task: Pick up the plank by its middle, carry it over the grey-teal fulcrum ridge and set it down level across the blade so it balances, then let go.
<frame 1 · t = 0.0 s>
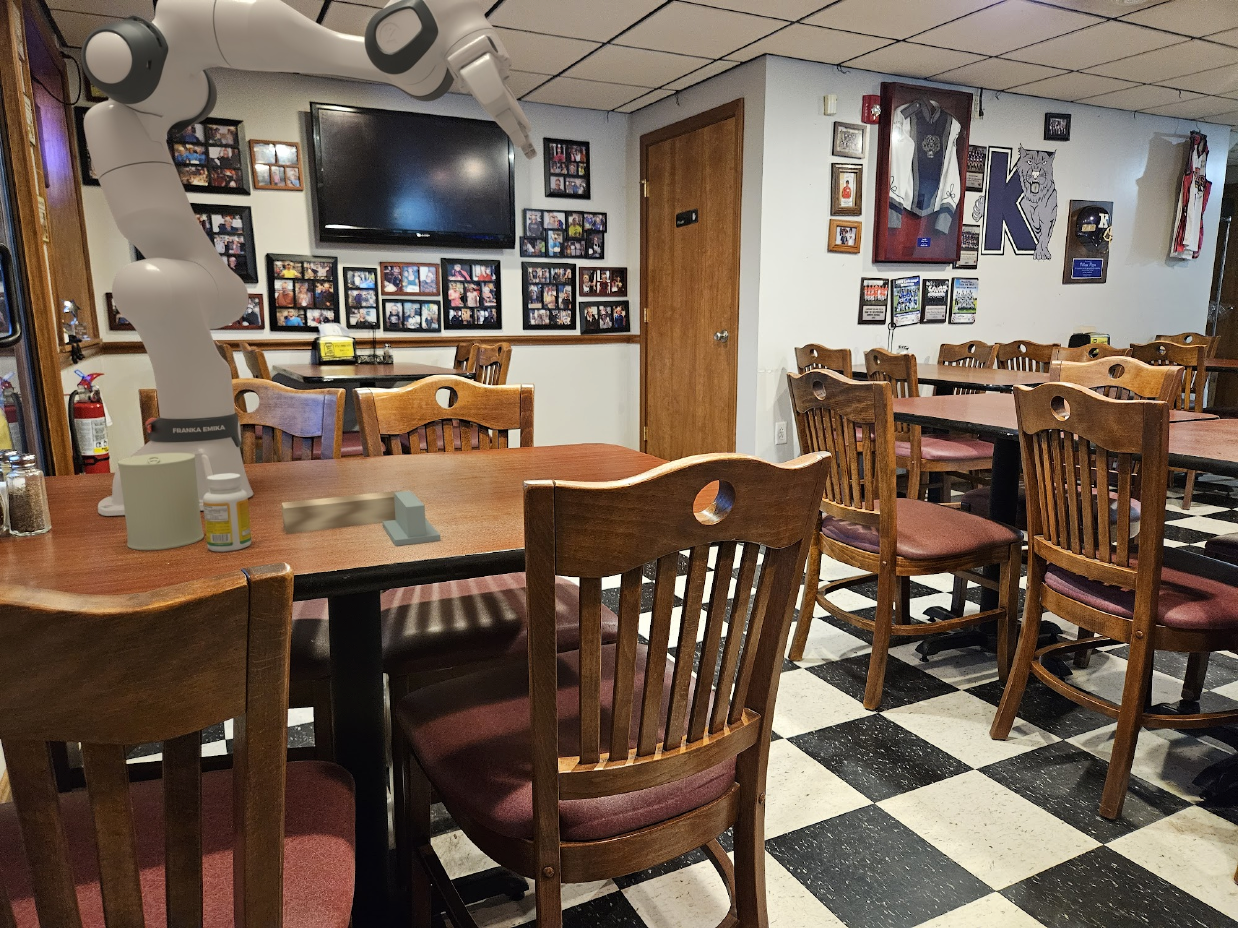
hand: (527, 151, 122), 54 cm above the table, tool tilted 30°, fingers open, 8 cm apart
plank: (350, 524, 120), on the table
ridge: (410, 533, 113), on the table
supplement bottle: (230, 548, 108), on the table
can: (166, 542, 111), on the table
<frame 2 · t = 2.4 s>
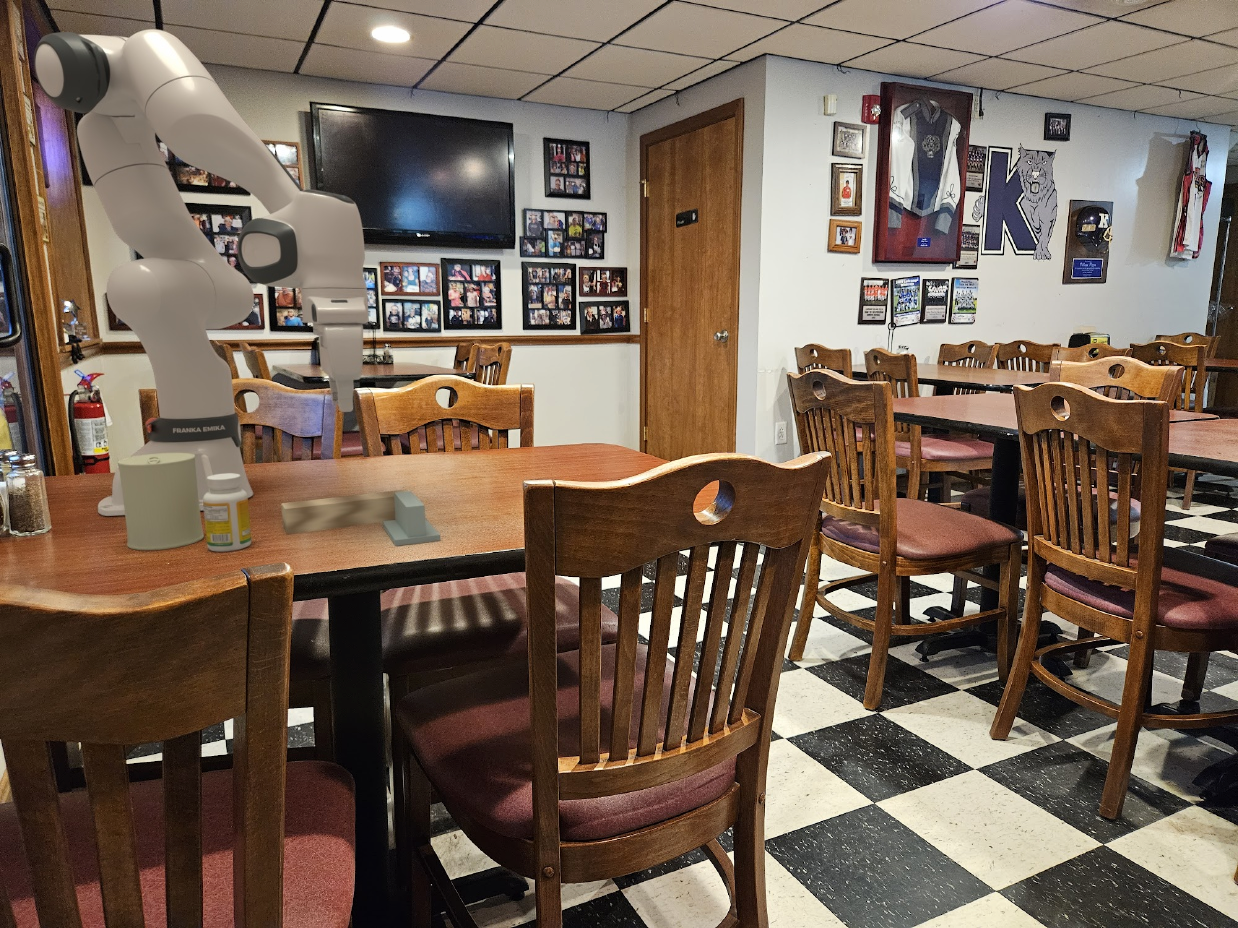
hand: (342, 407, 116), 17 cm above the table, tool pointing down, fingers open, 8 cm apart
nothing on the table moved.
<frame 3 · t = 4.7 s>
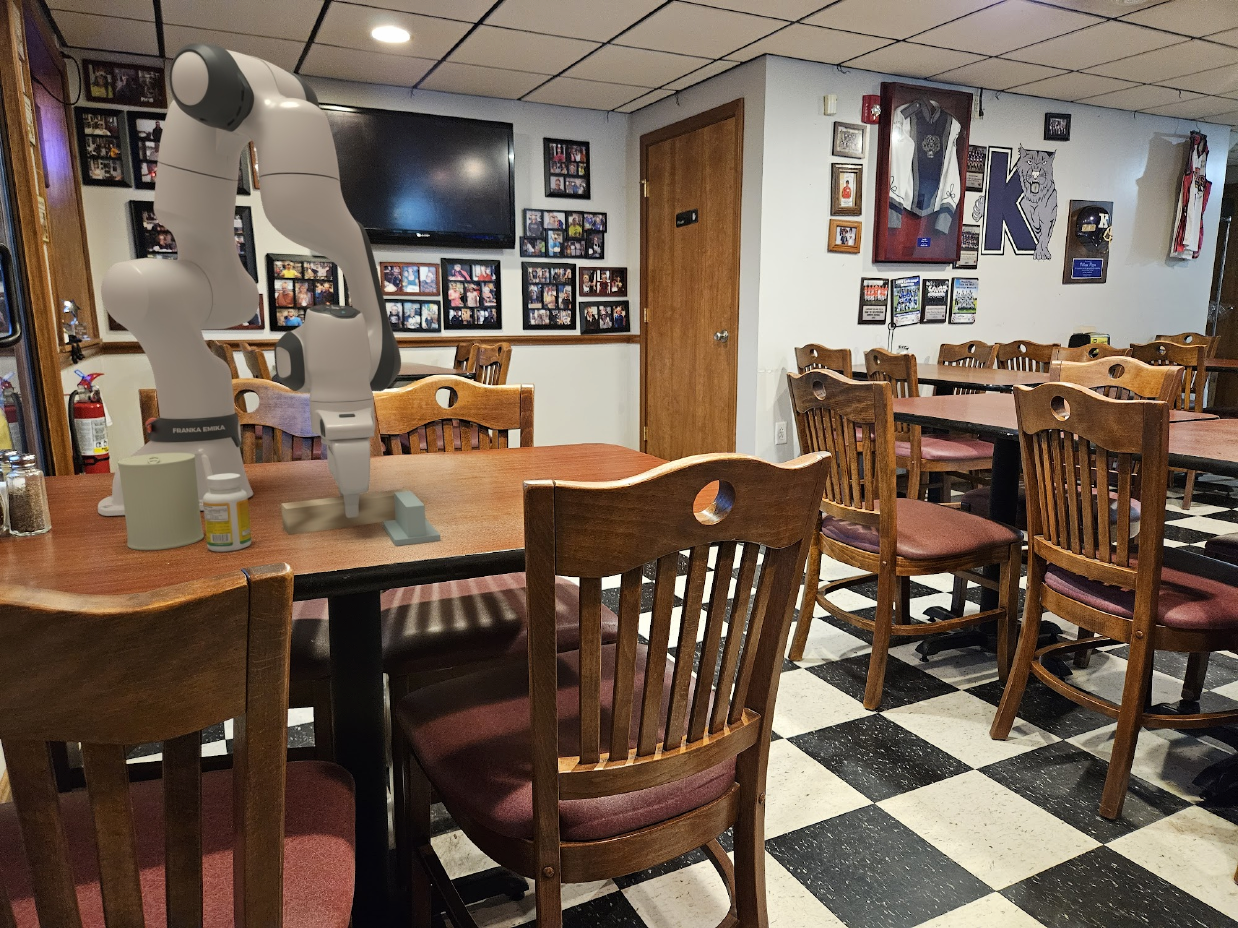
hand: (349, 512, 119), 2 cm above the table, tool pointing down, fingers closed on plank, 4 cm apart
plank: (350, 524, 120), on the table, touching gripper
everything else where it was.
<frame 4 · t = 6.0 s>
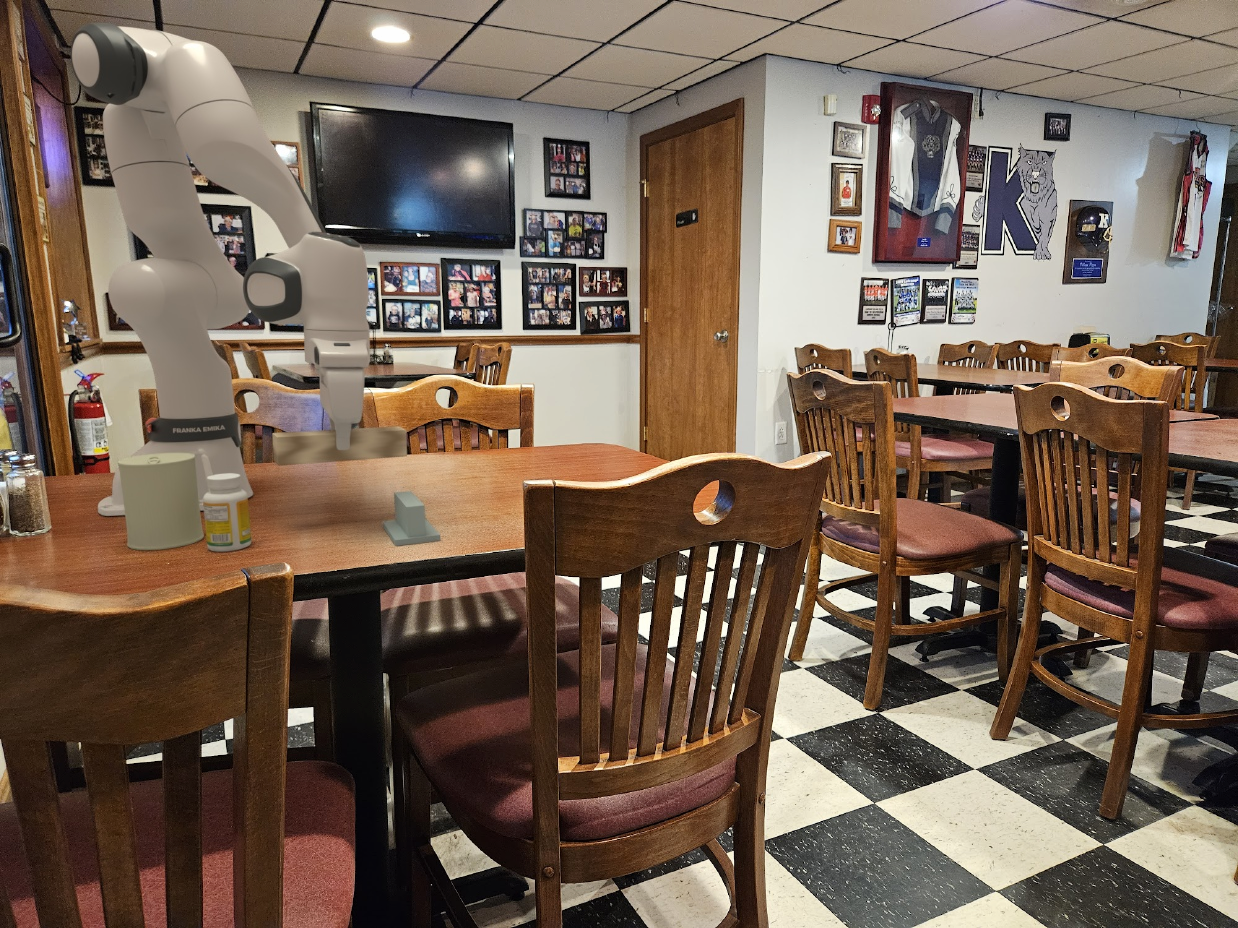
hand: (340, 445, 118), 11 cm above the table, tool pointing down, fingers closed on plank, 4 cm apart
plank: (342, 458, 118), point 10 cm above the table, touching gripper
everything else where it was.
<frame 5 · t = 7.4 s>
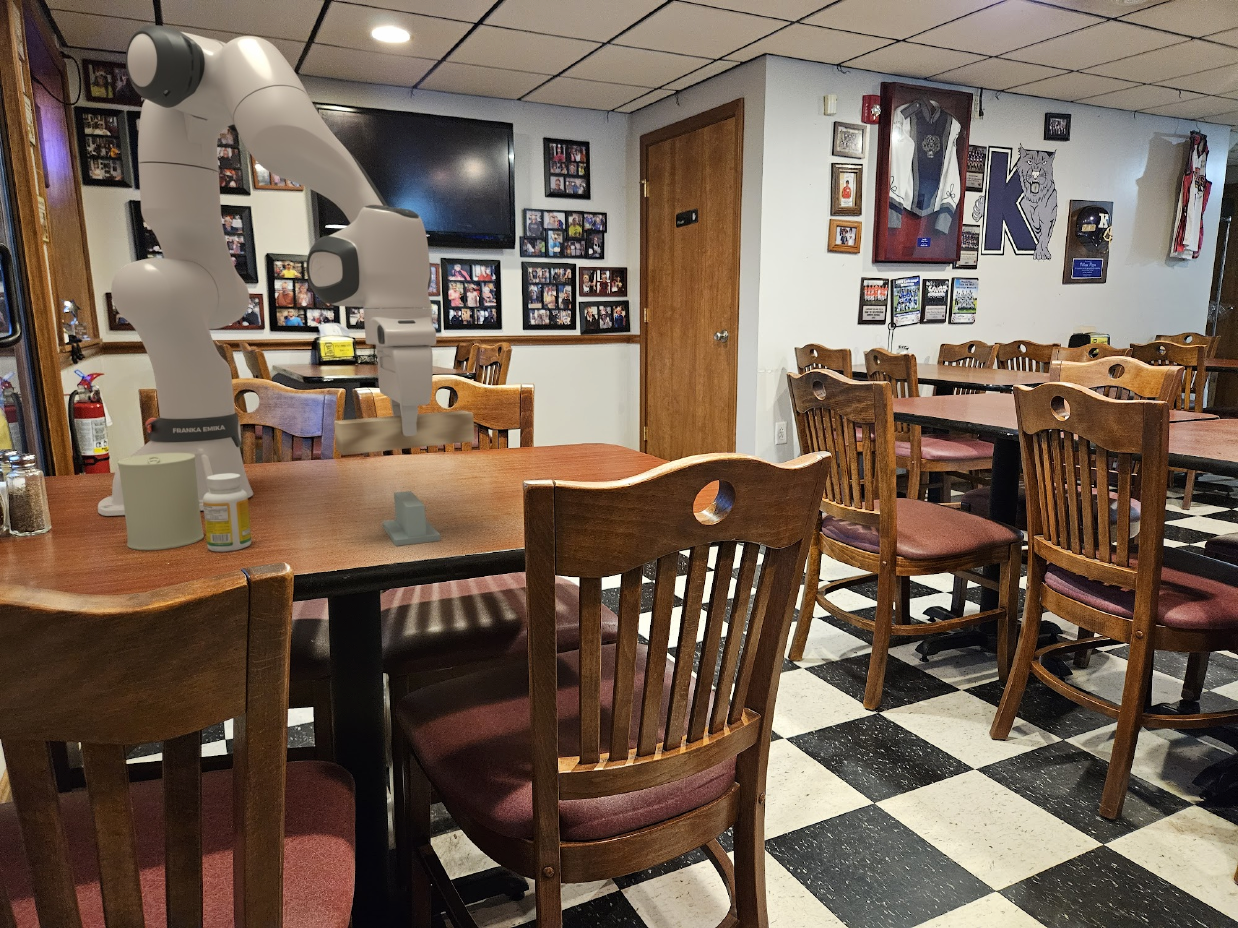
hand: (405, 432, 111), 14 cm above the table, tool pointing down, fingers closed on plank, 4 cm apart
plank: (407, 445, 111), point 12 cm above the table, touching gripper
everything else where it was.
when the fingers open (8 cm above the table, at t = 9.2 s): plank stays where it is, resting on ridge.
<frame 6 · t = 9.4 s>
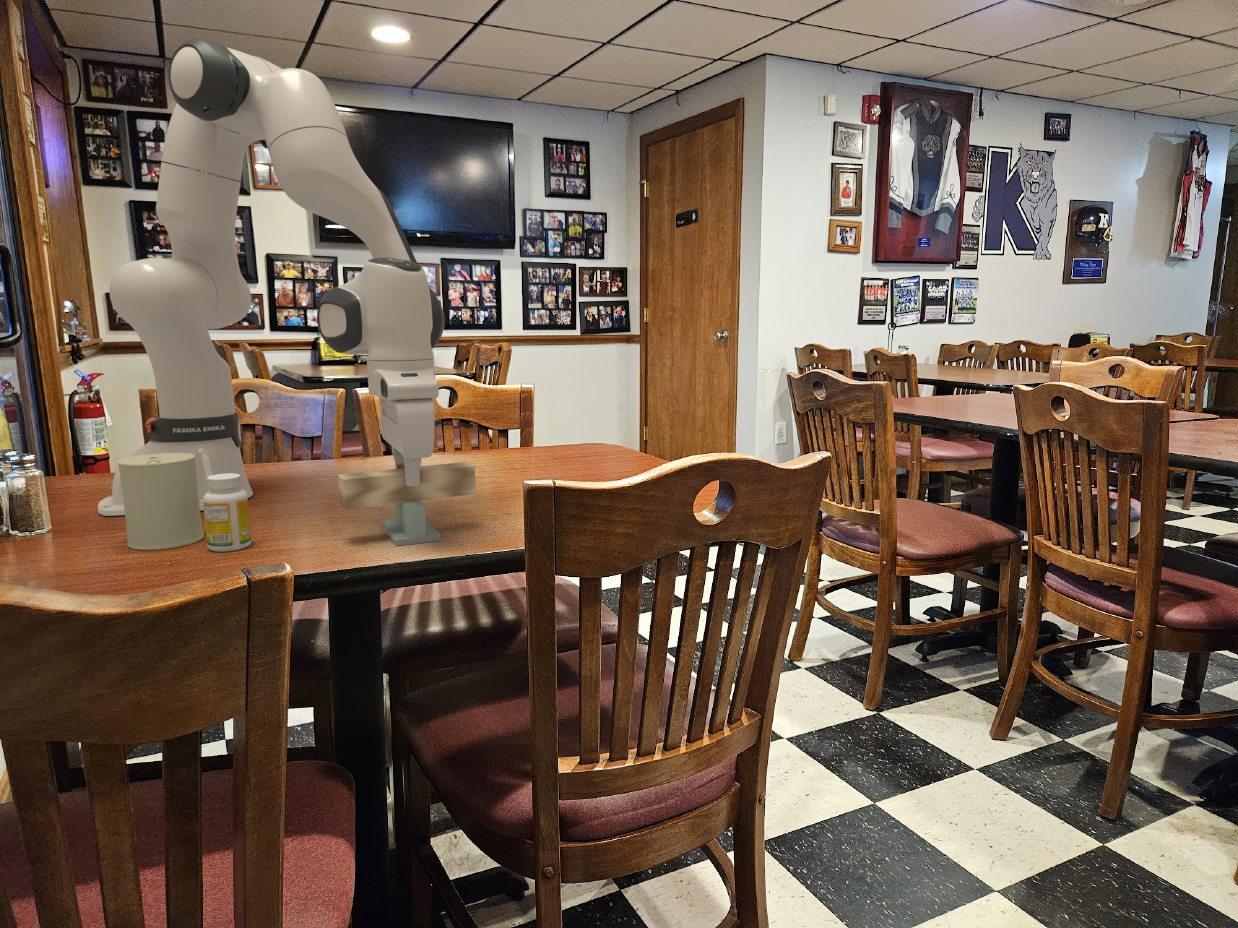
hand: (407, 480, 112), 8 cm above the table, tool pointing down, fingers open, 6 cm apart
plank: (409, 498, 113), point 5 cm above the table, touching ridge
everything else where it was.
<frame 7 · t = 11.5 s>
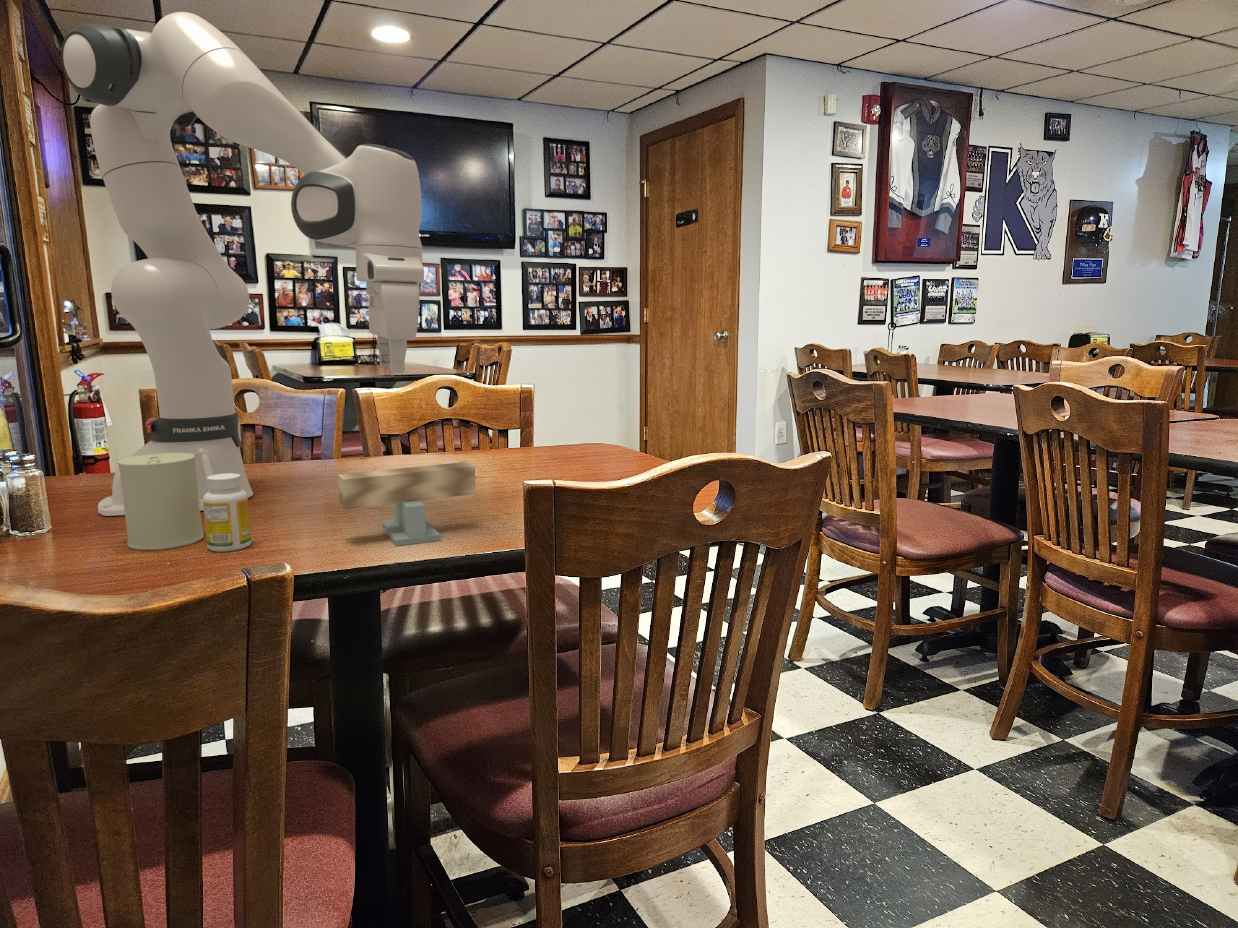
hand: (391, 370, 114), 23 cm above the table, tool pointing down, fingers open, 8 cm apart
nothing on the table moved.
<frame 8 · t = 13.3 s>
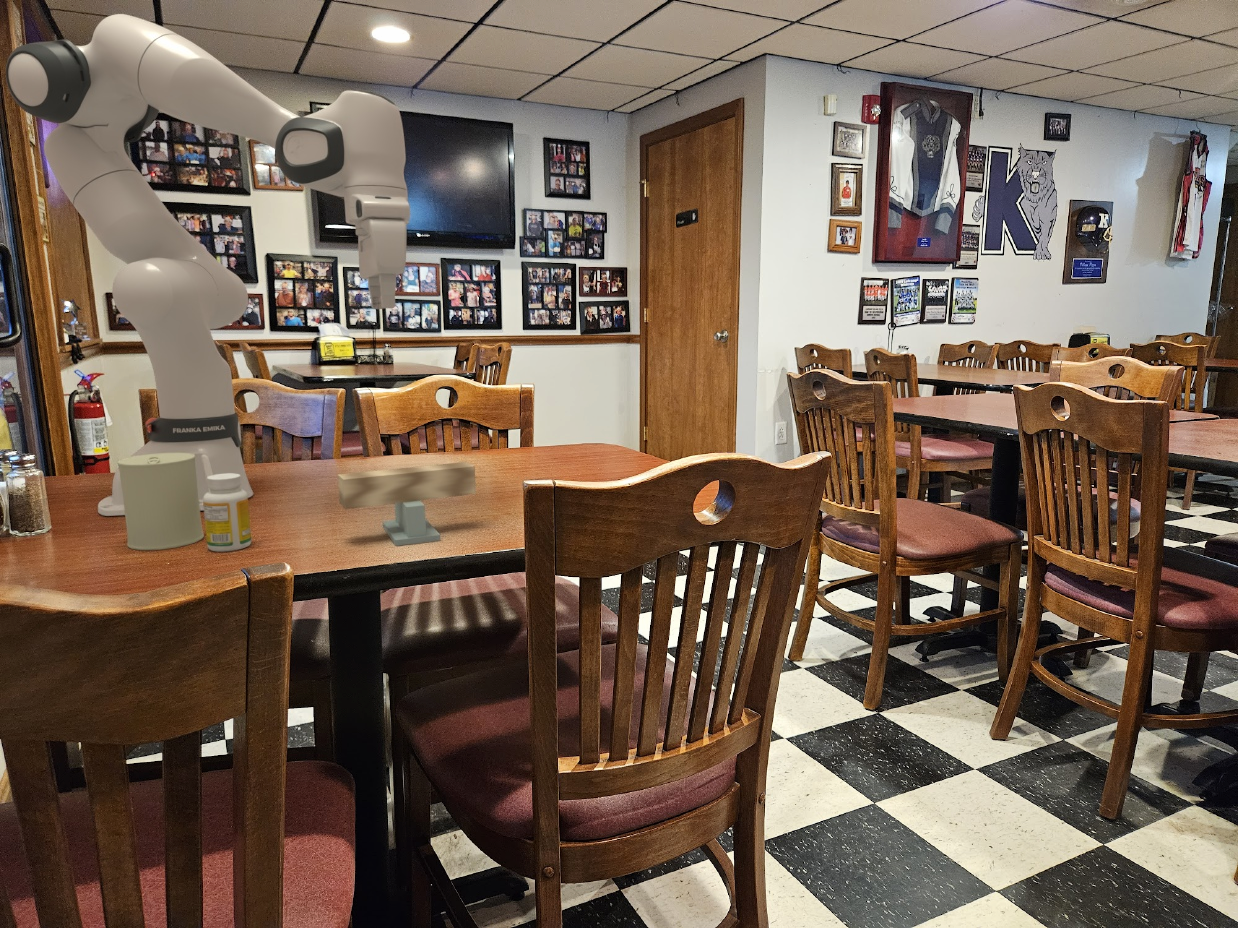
hand: (383, 308, 119), 31 cm above the table, tool pointing down, fingers open, 8 cm apart
nothing on the table moved.
at the end: plank 0.1 cm off-centre on the ridge, point 5.0 cm above the ridge's base; plank tilted 0°; plank touching ridge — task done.
